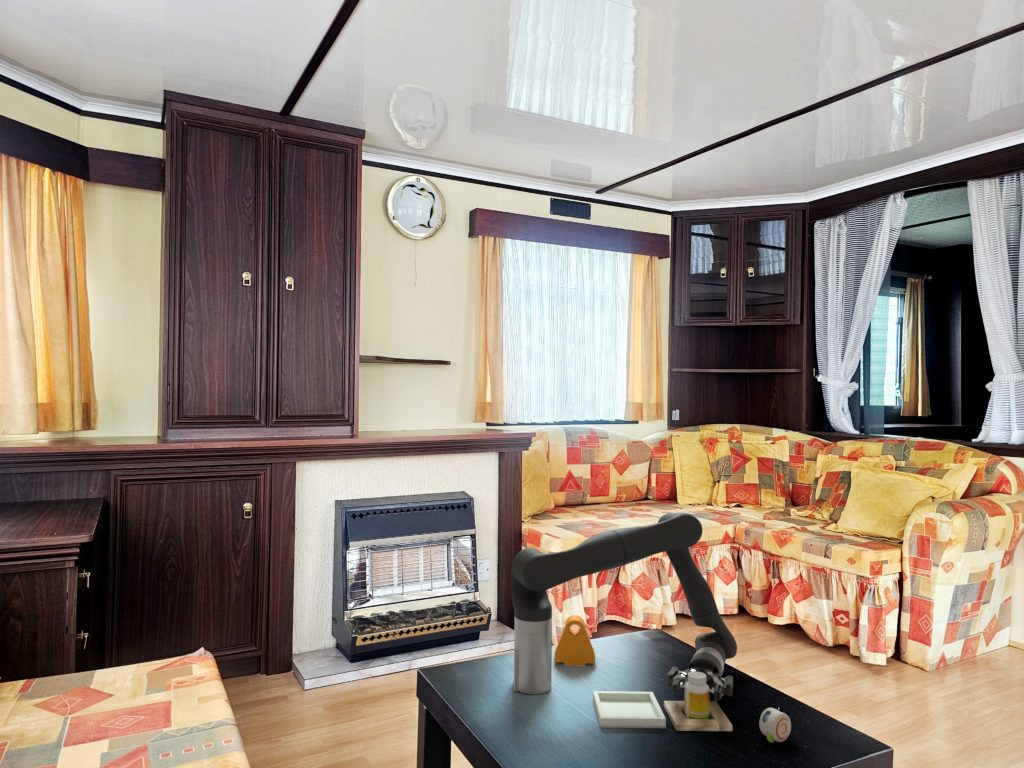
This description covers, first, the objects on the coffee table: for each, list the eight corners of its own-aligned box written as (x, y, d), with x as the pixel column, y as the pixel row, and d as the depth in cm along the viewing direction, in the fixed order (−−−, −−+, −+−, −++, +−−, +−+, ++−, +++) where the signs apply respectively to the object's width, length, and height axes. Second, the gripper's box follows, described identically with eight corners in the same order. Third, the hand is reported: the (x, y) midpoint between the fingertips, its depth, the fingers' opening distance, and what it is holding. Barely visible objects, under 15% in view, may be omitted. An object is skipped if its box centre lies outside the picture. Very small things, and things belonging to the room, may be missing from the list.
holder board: (676, 730, 148) (676, 724, 148) (663, 706, 160) (663, 700, 160) (732, 731, 148) (732, 725, 148) (715, 706, 160) (715, 701, 160)
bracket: (594, 656, 191) (594, 612, 191) (595, 666, 184) (595, 621, 184) (555, 655, 192) (555, 611, 192) (554, 664, 184) (554, 619, 185)
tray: (600, 727, 149) (600, 718, 149) (593, 699, 163) (593, 691, 163) (665, 728, 149) (665, 718, 149) (652, 700, 163) (652, 691, 163)
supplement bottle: (679, 715, 155) (679, 672, 155) (698, 711, 157) (698, 668, 158) (695, 725, 150) (695, 680, 150) (714, 720, 152) (714, 676, 153)
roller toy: (755, 737, 145) (755, 709, 145) (776, 730, 148) (776, 703, 149) (772, 746, 141) (772, 717, 142) (793, 739, 144) (793, 711, 145)
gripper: (676, 647, 170) (663, 670, 155) (737, 656, 164) (729, 681, 149) (676, 678, 170) (662, 704, 155) (737, 688, 164) (729, 716, 149)
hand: (695, 693), depth 152 cm, fingers open, 8 cm apart
